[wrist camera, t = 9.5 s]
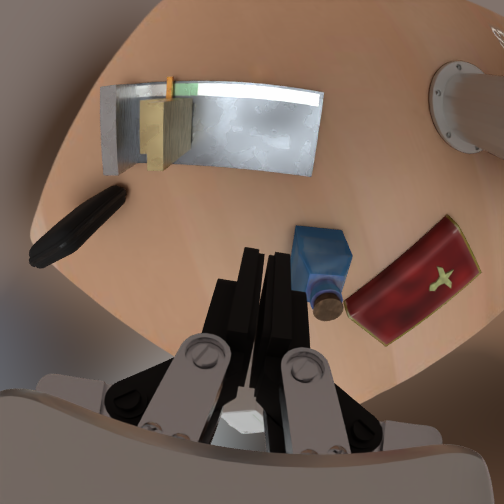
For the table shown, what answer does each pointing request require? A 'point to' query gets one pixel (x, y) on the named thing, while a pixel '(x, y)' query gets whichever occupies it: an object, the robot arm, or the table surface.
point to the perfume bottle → (320, 268)
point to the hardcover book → (415, 284)
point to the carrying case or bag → (76, 227)
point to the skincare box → (245, 409)
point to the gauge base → (219, 125)
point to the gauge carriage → (165, 128)
